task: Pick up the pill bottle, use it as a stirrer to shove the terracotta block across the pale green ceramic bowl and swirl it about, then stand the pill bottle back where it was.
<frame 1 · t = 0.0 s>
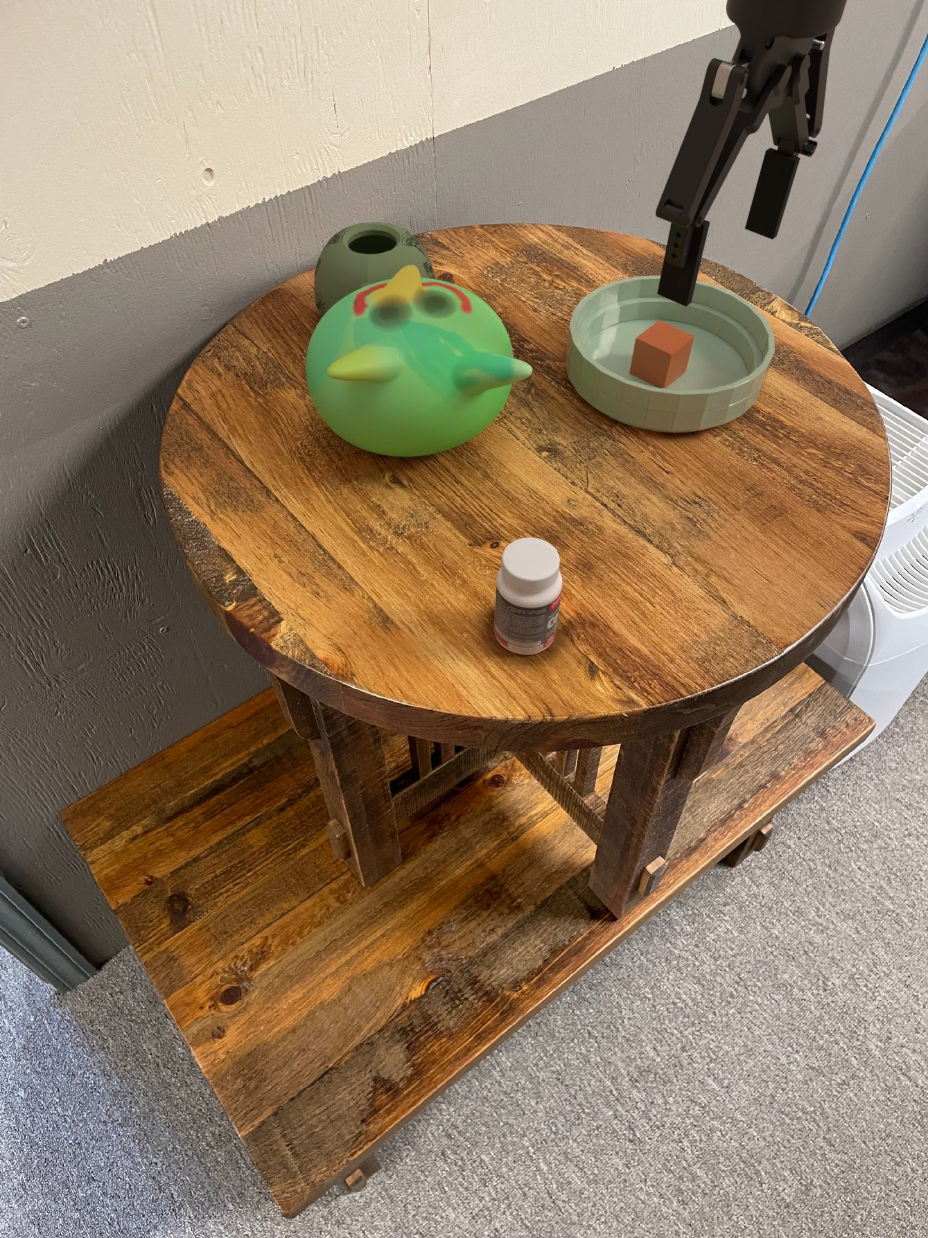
hand: (719, 264, 71), 14 cm above the table, tool pointing down, fingers open, 13 cm apart
toy bird: (415, 436, 80), on the table
block: (657, 372, 85), point 1 cm above the table, touching bowl
mug: (377, 327, 91), on the table
pill bottle: (524, 633, 66), on the table
bowl: (661, 374, 86), on the table
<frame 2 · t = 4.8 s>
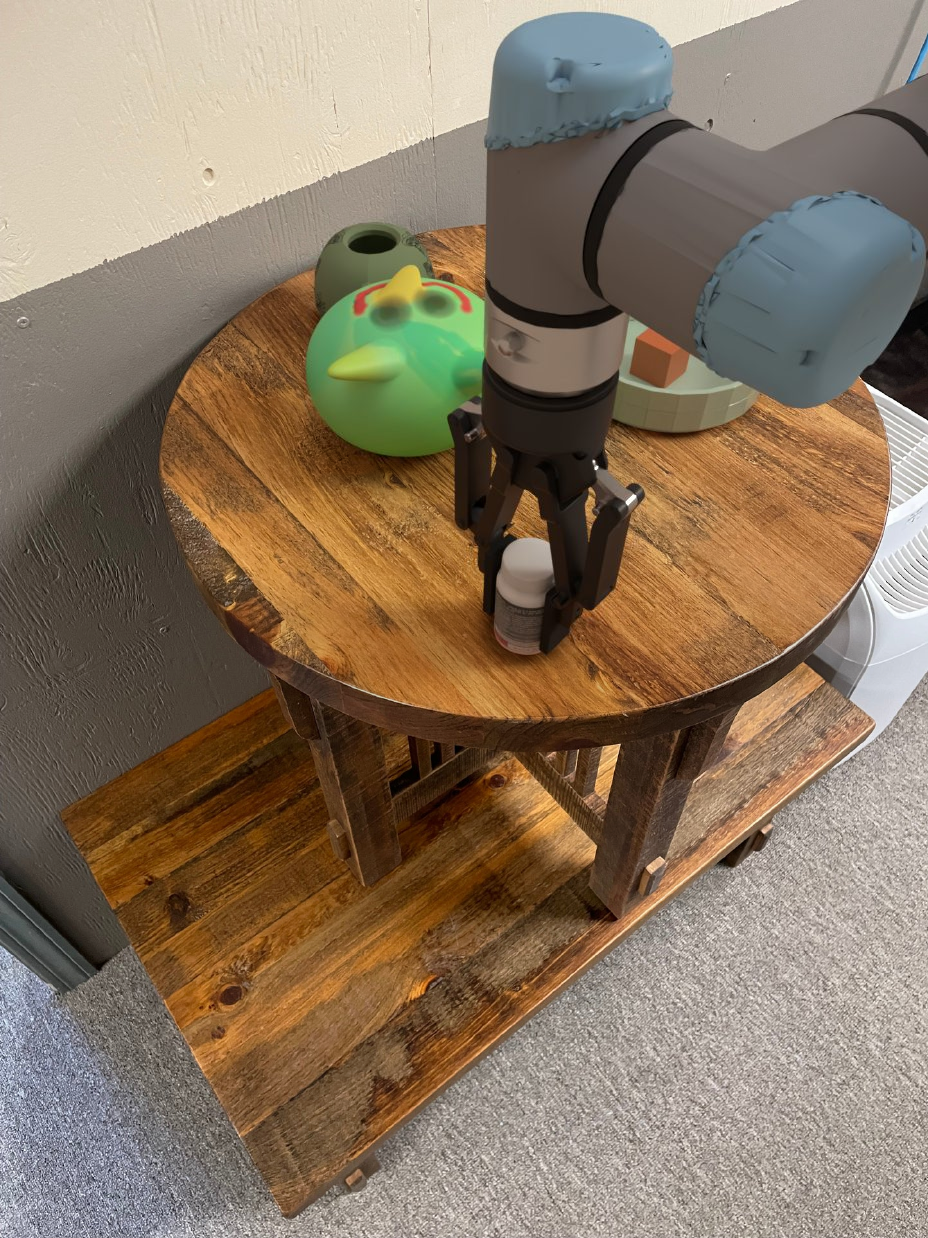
hand: (525, 621, 65), 1 cm above the table, tool pointing down, fingers closed on pill bottle, 5 cm apart
pill bottle: (524, 633, 66), on the table, touching gripper
everything else where it was.
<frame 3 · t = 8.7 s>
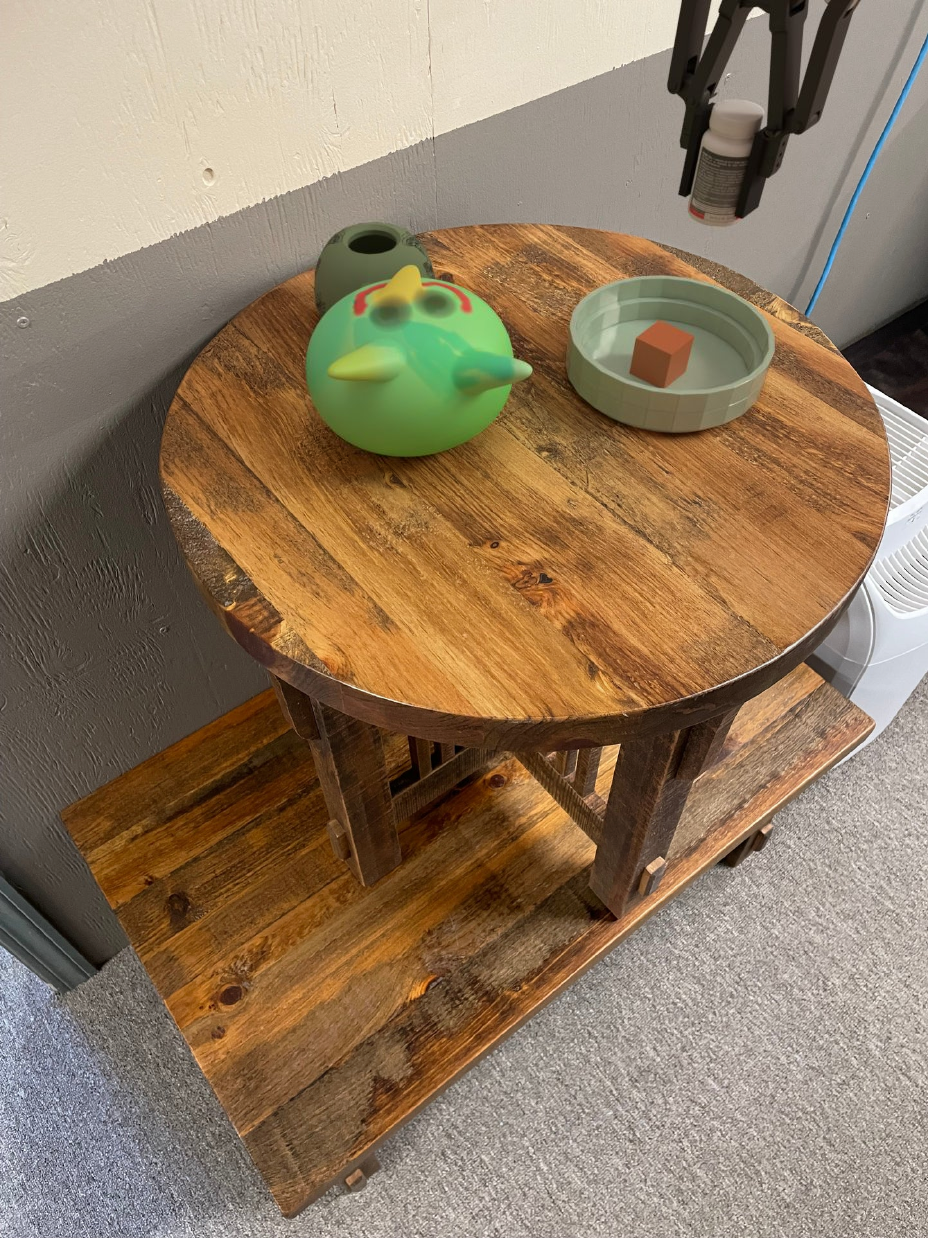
hand: (717, 200, 73), 17 cm above the table, tool pointing down, fingers closed on pill bottle, 5 cm apart
pill bottle: (713, 216, 74), point 15 cm above the table, touching gripper
everything else where it was.
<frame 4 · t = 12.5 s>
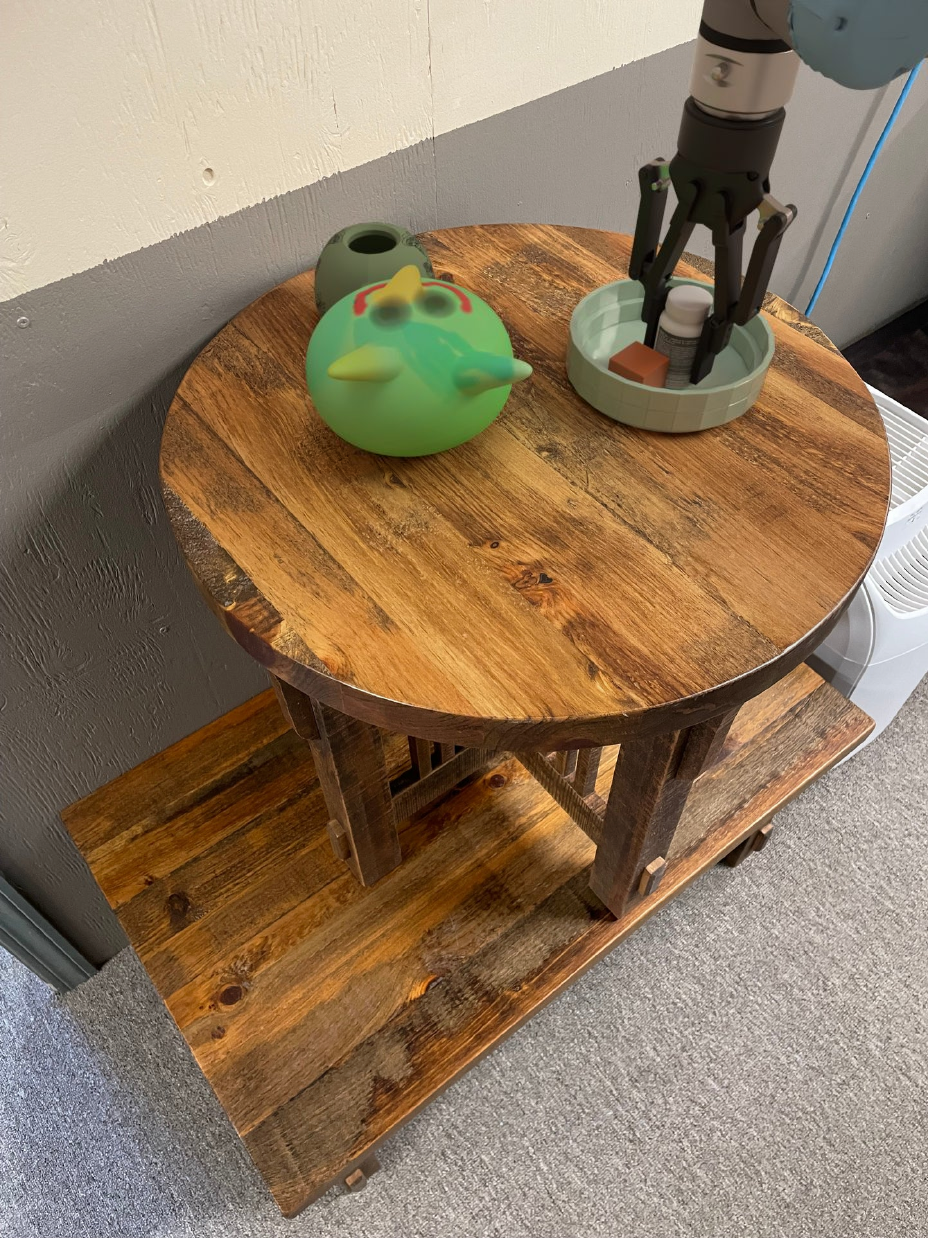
hand: (675, 364, 83), 3 cm above the table, tool pointing down, fingers closed on pill bottle, 5 cm apart
block: (633, 393, 83), point 1 cm above the table, touching bowl
pill bottle: (672, 377, 84), point 1 cm above the table, touching gripper
everything else where it was.
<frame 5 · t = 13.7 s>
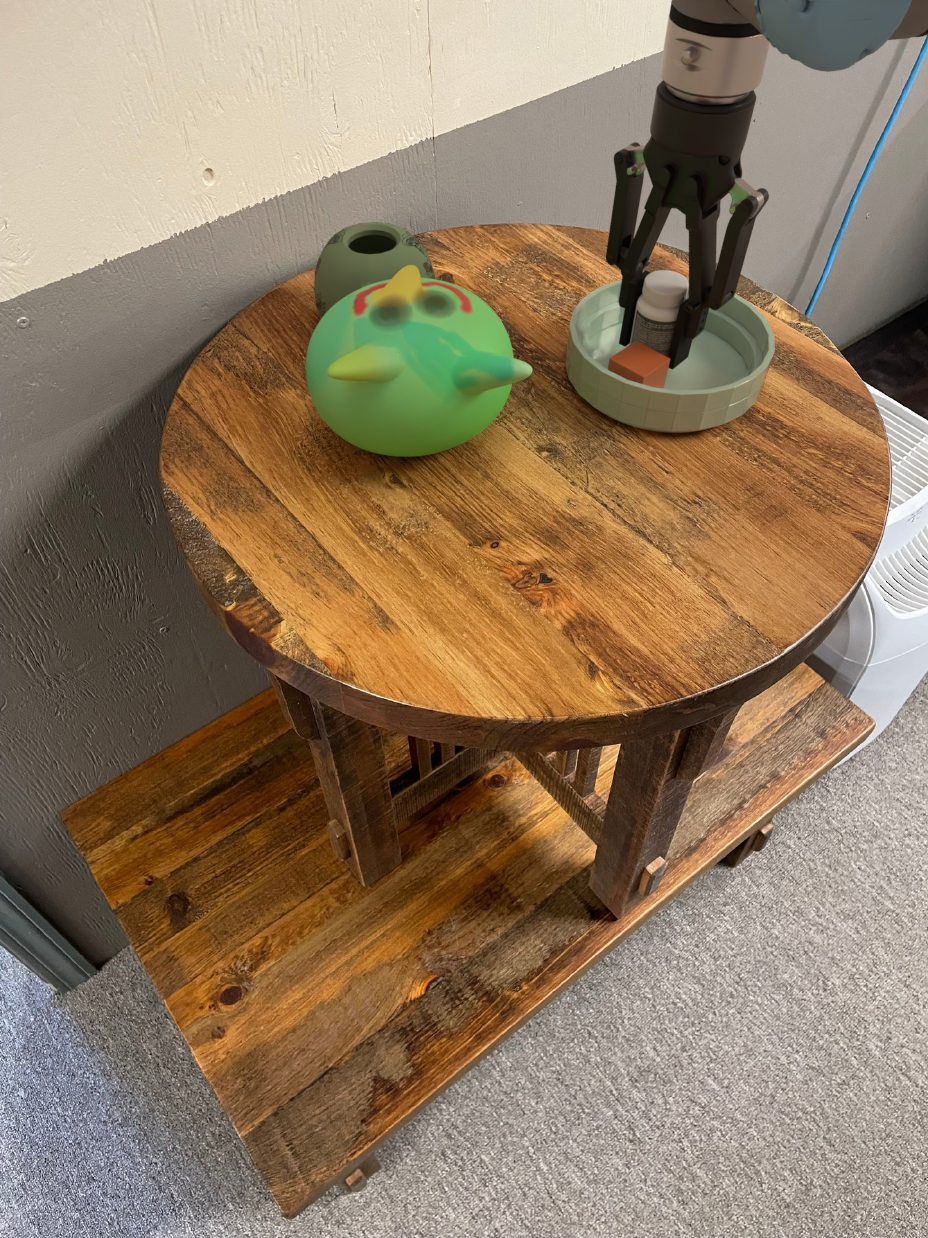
hand: (653, 349, 84), 3 cm above the table, tool pointing down, fingers closed on pill bottle, 5 cm apart
pill bottle: (650, 362, 85), point 1 cm above the table, touching gripper
everything else where it was.
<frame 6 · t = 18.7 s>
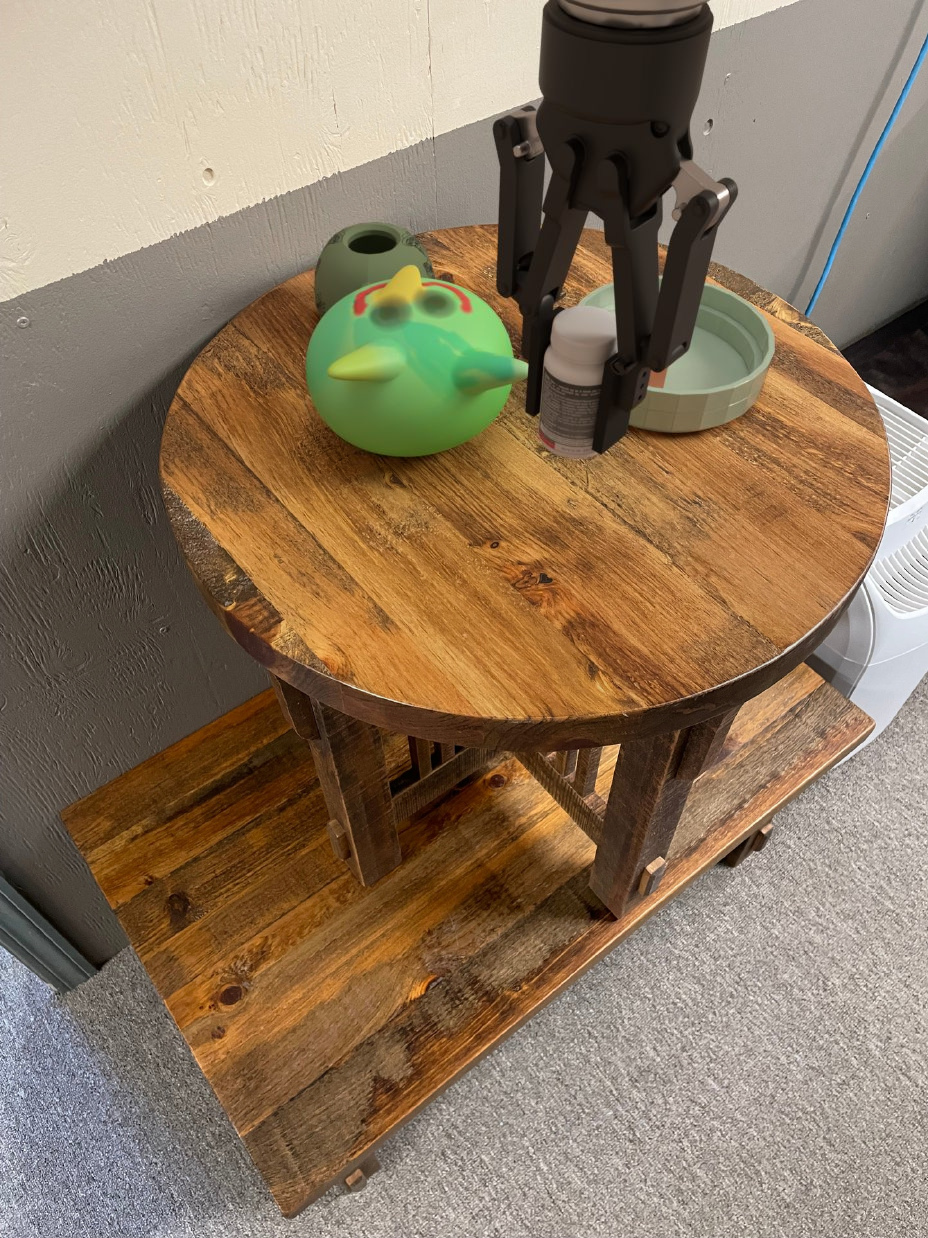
hand: (575, 422, 56), 16 cm above the table, tool pointing down, fingers closed on pill bottle, 5 cm apart
pill bottle: (573, 439, 57), point 15 cm above the table, touching gripper
everything else where it was.
when the fingers open (1 cm above the table, at t = 22.7 s): pill bottle stays where it is, on the table.
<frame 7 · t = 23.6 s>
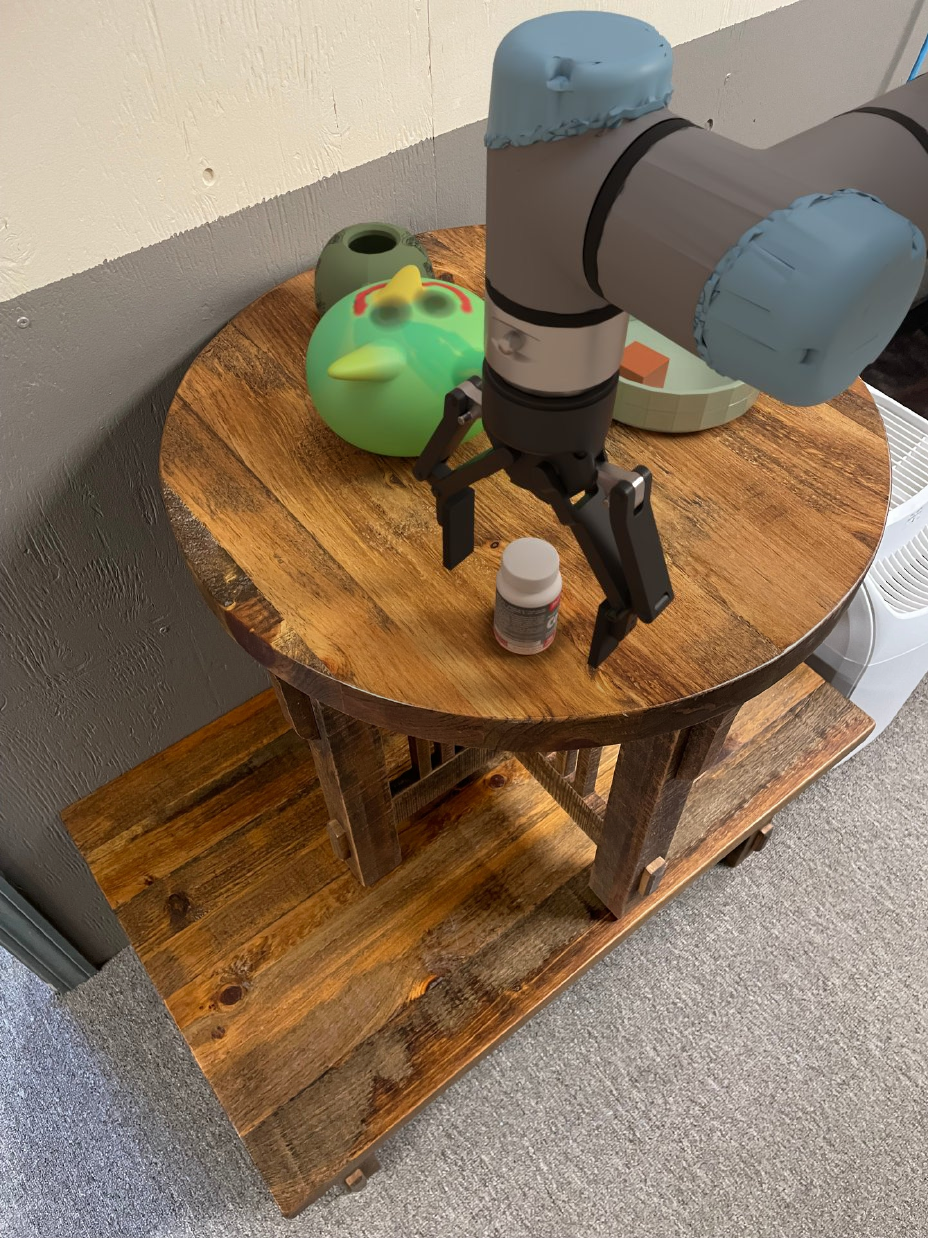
hand: (527, 605, 63), 3 cm above the table, tool pointing down, fingers open, 13 cm apart
pill bottle: (524, 632, 66), on the table
everything else where it was.
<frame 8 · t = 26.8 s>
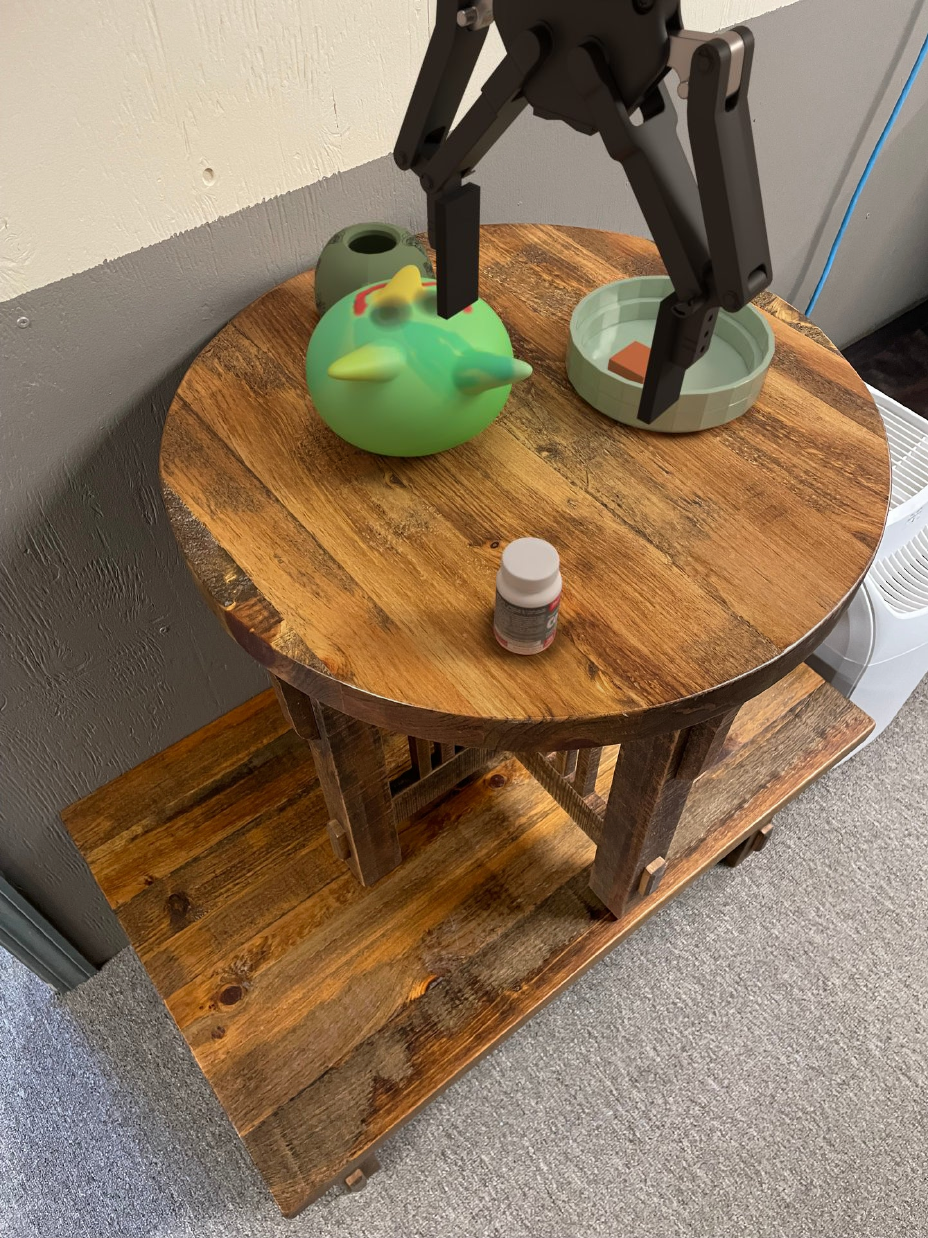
hand: (551, 356, 47), 25 cm above the table, tool pointing down, fingers open, 13 cm apart
nothing on the table moved.
at the end: block moved 4.4 cm from its start; block inside the target area in the bowl (5.4 cm from its centre), point 0.8 cm above the bowl's base; pill bottle tilted 0° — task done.
